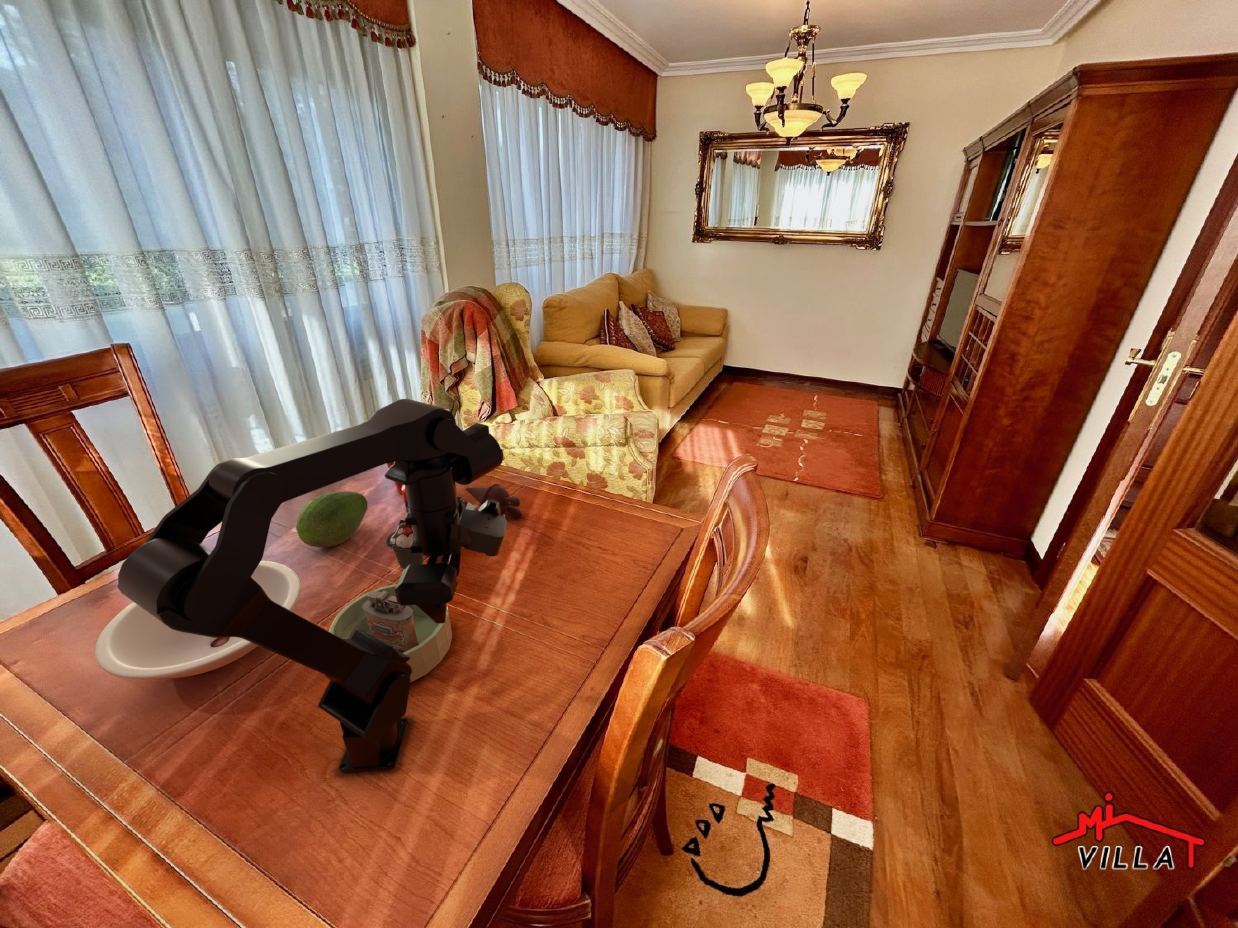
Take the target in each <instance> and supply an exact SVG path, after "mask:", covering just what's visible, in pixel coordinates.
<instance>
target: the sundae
mask: <svg viewBox="0 0 1238 928" xmlns="http://www.w3.org/2000/svg"><path fill="white" fill-rule="evenodd" d="M413 539H414V533H413V528H412V525H406V522H405V519H400V520H399V522H398V526H397V528H396V531H394V532H391V533H390V534H389V535H388V536H387V537H386V540H385V545H386V547H387V548H389V549H392V551H393V553H394V555H395V558H396V561H397V564H398V565H399V567H400V568H401V569H402V570H404V569H406V568H407V567H408V566H409V565H413V564H424V560H425V555H423V554H422V553H411V548H410V546H411V544H412V541H413Z"/></svg>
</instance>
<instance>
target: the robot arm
mask: <svg viewBox="0 0 1238 928" xmlns="http://www.w3.org/2000/svg"><path fill="white" fill-rule="evenodd" d="M503 460H504V451H503V449H502V447H501V445H500V443H499V442H498V440H497V439H496V438H495V437H494V435H492V433H490V427H489V425H487V424H484V423H480V422H475V423H472V424H471V425H470V426H468V427H467V428H465V429H463V430H462V429H461V427H459V426H458V424H457V421H456V418H455V416H454V414H453V413H452V412H451V411H450V410H449V409H448V408H446V407H441V406H438V405H434V404H430V403H425V402H422V401H418V400H414V399H410V398H401V399H398V400H395V401H393V402H391V403H389V404H387V405H385V406H383V407H381V408H378V409H377V410H376V411H375V412H374V413H373V414H372V415H371V416H370V418H369V419H367V420H366V421H364V422H362V423H359V424H357V425H354V426H351V427H346V428H343V429H340V430H336V431H333V432H329V433H326V434H323V435H319V436H315V437H312V438H309V439H305V440H301V441H298V442H295V443H291V444H287V445H285V446H281V447H277V448H274V449H270V450H268V451H263V452H260V453H257V454H253V455H250V456H247V457H234V458H229V459H225V460H223V461H221V462H219V463H217V464H215V466H214V467H212V469H211V470H210V471H209V472H208V474H207V476H206V477H205V478H204V480H203V481H202V482H201V484H200V485H199V487H198V488H197V489H196V490H195V491H194V492H192V493H191V494H190V495H188V496H187V497H185V498H184V499H183V500H182V501H181V502H179V503H178V504H177V505H176V506H175V507H173V508H172V509H170V510H169V511H168V512H167V513H165V514H164V516H163V517H161V520H160V521H159V522H158V523H157V525H156V527H155V528H154V529H153V531H152V532H151V533H150V534H149V536H148V538H147V539H146V541H145V542H144V543H143V544H141V545H140V546H139V547H138V548H136V549H135V550H133V551H132V552H131V553H130V554H129V555H128V556H127V557H126V559H124V561H123V562H122V564H121V565H120V569H119V571H118V574H117V582H118V583H117V588H118V590H119V592H120V593H121V594H122V595H123V596H125V597H126V598H127V599H129V600H131V601H132V603H133V602H135V603H136V604H137V605H139V606H140V607H142V608H143V609H144V610H146V611H147V612H148V613H150V614H151V615H153V616H154V617H155V618H157V619H158V620H160V621H161V622H162V623H164V624H165V625H167V626H168V627H169V628H171V629H173V630H176V631H180V632H185V633H191V634H196V635H201V636H207V637H212V638H217V639H222V638H223V639H224V638H229V637H239V638H243V639H245V640H247V641H249V642H252V643H254V644H256V645H258V647H261V648H263V649H265V650H268V651H270V652H272V653H274V654H276V655H279V656H282V657H284V658H286V659H288V660H290V661H292V662H294V663H297V664H300V665H302V666H304V667H306V668H309V669H311V670H313V671H316V672H318V673H320V674H322V675H324V676H325V677H326V678H327V679H328V680H329V682H328V684H327V686H326V688H325V690H324V692H323V694H322V695H321V698H320V700H319V702H318V704H317V707H318V708H319V709H321V710H323V711H324V712H325V713H327V715H329V716H331V717H333V718H334V719H335V720H336V721H338V722H339V726H340V729H341V732H342V736H341V738H342V741H343V743H344V747H345V751H344V754H343V756H342V759H341V760H340V763H339V766H338V771H339V773H343V774H344V773H354V772H357V773H358V772H368V771H383V770H393V769H394V768H395V767H396V765H397V762H398V760H399V756H400V753H401V749H402V747H403V743H404V741H405V736H406V734H407V730H408V727H409V724H410V721H409V719H408V718H407V717H404V716H405V715H406V713H407V709H408V701H409V695H410V688H411V683H410V674H412V668H411V666H410V665H409V664H408V663H406V662H407V661H408V660H409V659H410V657H409V656H407V655H405V654H403V653H401V652H400V651H398V650H396V649H394V648H392V647H391V646H389V645H388V644H386V643H384V642H382V641H380V640H378V639H377V638H375V637H373V636H371V635H369V634H368V633H366V632H364V631H362V630H360V629H358V628H357V629H356V630H355V632H354V634H353V636H352V637H351V639H342V638H340V637H338V636H336V635H334V634H332V633H331V632H329V630H327V629H325V628H324V627H321V626H320V625H318V624H316V623H314V622H312V621H311V620H308V619H307V618H305V617H303V616H301V615H300V614H298V613H296V612H294V611H292V610H291V611H290V610H289V609H287V608H285V607H283V606H281V605H279V604H278V603H276V602H274V601H272V600H271V599H270V598H269V597H268V596H267V594H266V593H265V591H264V590H263V589H262V587H261V586H260V585H259V584H258V583H257V582H256V581H255V580H254V579H253V578H251V576H252V574H253V573H254V571H255V569H256V568H257V566H258V565H259V563H260V562H261V561H263V560H262V559H263V557H264V554H265V548H266V544H267V541H268V535H269V531H270V526H271V523H272V519H273V517H274V516H275V514H276V513H277V512H278V510H279V508H280V506H281V505H282V504H283V503H285V502H288V501H291V500H293V499H294V500H295V499H296V498H299V497H302V496H304V495H307V494H309V493H312V492H314V491H317V490H320V489H323V488H325V487H328V486H330V485H333V484H336V483H339V482H340V481H344V480H346V479H349V478H351V477H352V478H353V477H354V476H357V475H360V474H362V473H365V472H367V471H370V470H372V469H375V468H379V467H381V466H383V465H387V463H392V462H395V463H394V464H393V465H392V466H391V467H390V468H388V469H387V470H386V472H385V474H384V478H385V479H386V480H389V481H392V482H394V481H395V482H397V483H400V484H403V485H405V490H406V495H407V501H408V506H409V511H408V513H407V515H406V514H405V517H404V520H405V522H406V525H412V528H413V533H414V539H413V541H412V544H411V546H410V548H411V553H422V554H423V555H424V557H428V559H427V562H426V563H422V564H413V565H409V566H408V567H407V568H406V569H402V572H401V574H400V576H399V578H398V580H397V583H396V584H397V585H396V587H395V595H396V599H397V603H399V604H400V605H416V606H417V607H419V608H420V609H421V610H422V611H423V612H424V613H426V614H427V615H428V616H429V617H430V618H431V619H432V620H433V621H434V622H436V623H438V624H439V623H445V621H446V609H447V606H448V603H450V602H451V601H453V599H454V597H455V594H456V590H457V587H458V585H459V582H458V577H459V575H460V570H461V561H462V555H463V549H465V550H469V551H473V552H477V553H481V554H484V555H485V556H487V557H496V556H498V554H499V552H500V549H501V546H502V543H503V540H504V538H505V535H506V529H507V524H508V521H507V519H506V514H504V513H501V510H500V506H499V502H498V501H494V500H490V499H488V500H487V501H486V502H485V503H484V504H483V505H481V506H480V507H478V506H475V505H473V504H471V503H470V502H469V501H465V500H464V499H462V496H458V494H457V486H456V484H458V485H461V486H468V485H470V484H472V483H474V482H475V481H477V480H479V479H480V478H482V477H484V476H485V475H487V474H489V473H491V472H492V471H494V470H496V469H497V468H499V467H500V466H501V465H502V463H503ZM395 482H394V483H395ZM218 525H220V528H219V531H218V532H219V533H218V535H217V540H216V543H215V545H214V548H213V549H212V548H211V549H210V548H209V547H207V546H205V545H204V544H202V543H203V542H204V540H205V539H206V537H207V536H208V534H210V532H211V531H212V530H214V529H215V528H216V527H217V526H218ZM403 717H404V718H403Z"/></svg>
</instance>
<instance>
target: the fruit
mask: <svg viewBox="0 0 1238 928" xmlns="http://www.w3.org/2000/svg"><path fill="white" fill-rule="evenodd" d="M368 504H369V503H368V500H367V498H366V497H365V495H363V494H361V493H359V492H356V491H347V490H341V491H331V492H325V493H323V494H320V495H319V496H316V497H315V498H313V499H311V500H310V501H309V502H308V503H306V504H305V505H304V507H302V509H301V511H300V513H299V514H298V516H297V518H296V523H295V530H296V532H297V534H298V537H299V539H300V540H301V542H303V544H305V545H307V546H310V547H311V548H312V547H314V548H323V549H324V548H330V547H336V546H338V545H340V544H343V543H345V542H346V541H347V540H348V539H350V538H351V537H352V536H353V534H354V533H355V532H356V531H357V530H358V529H359V527H360V526H361V524H362V522H363V520H364V517H365V515H366V513H367V511H368Z"/></svg>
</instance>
